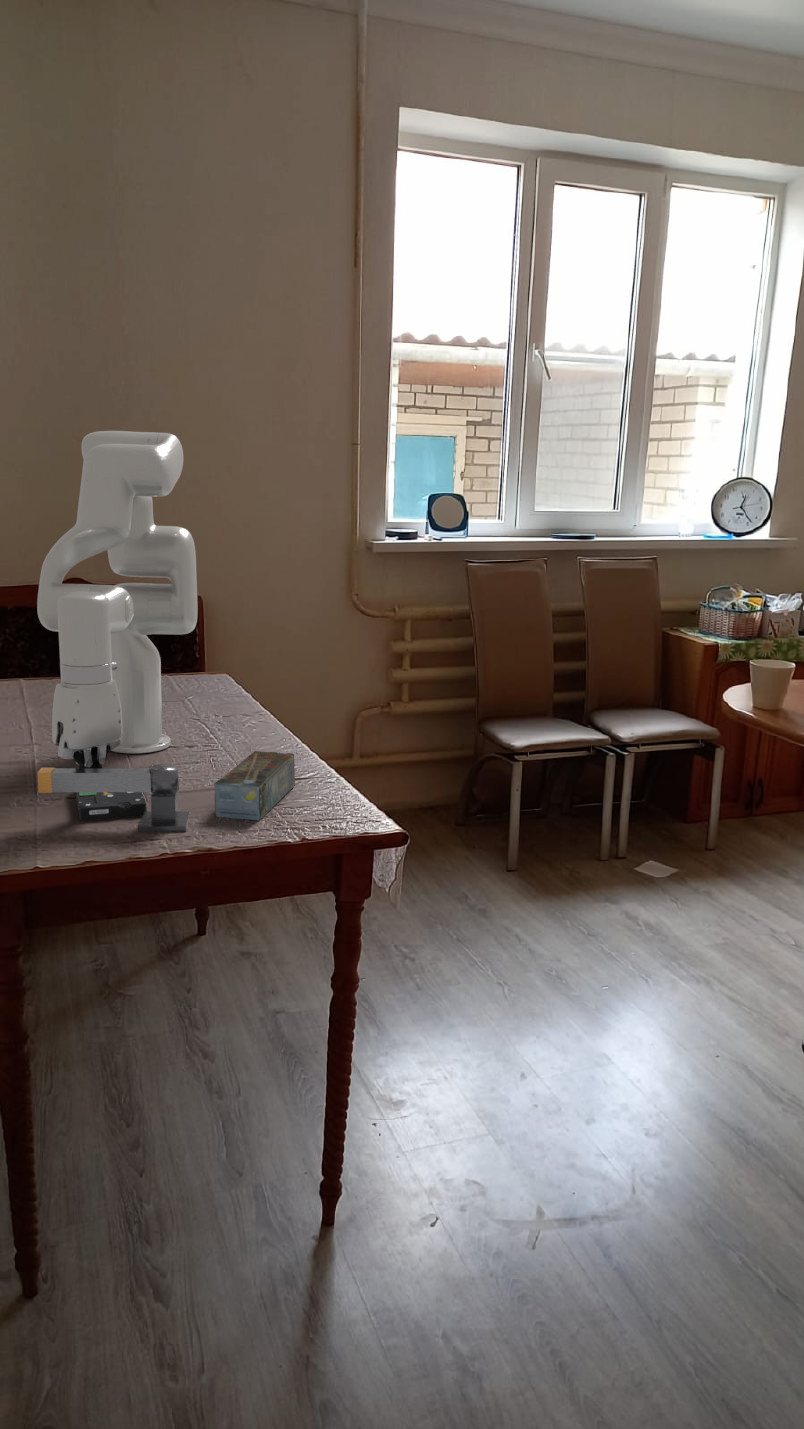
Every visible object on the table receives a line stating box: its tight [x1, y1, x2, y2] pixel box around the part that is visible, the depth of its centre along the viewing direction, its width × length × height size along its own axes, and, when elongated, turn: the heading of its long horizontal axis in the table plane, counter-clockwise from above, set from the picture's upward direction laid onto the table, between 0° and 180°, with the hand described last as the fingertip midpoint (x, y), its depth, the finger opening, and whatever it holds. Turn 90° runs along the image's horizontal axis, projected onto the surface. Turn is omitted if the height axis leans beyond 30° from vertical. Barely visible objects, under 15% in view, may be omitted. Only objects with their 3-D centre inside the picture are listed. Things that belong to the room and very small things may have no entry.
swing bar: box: [36, 763, 180, 794], centre depth 160 cm, size 21×4×4 cm, turn 95°
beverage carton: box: [214, 750, 296, 822], centre depth 174 cm, size 8×19×7 cm, turn 168°
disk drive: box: [74, 792, 147, 821], centre depth 171 cm, size 10×3×15 cm
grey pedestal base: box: [138, 791, 191, 833], centre depth 162 cm, size 7×7×5 cm
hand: (91, 788), depth 164 cm, fingers closed
